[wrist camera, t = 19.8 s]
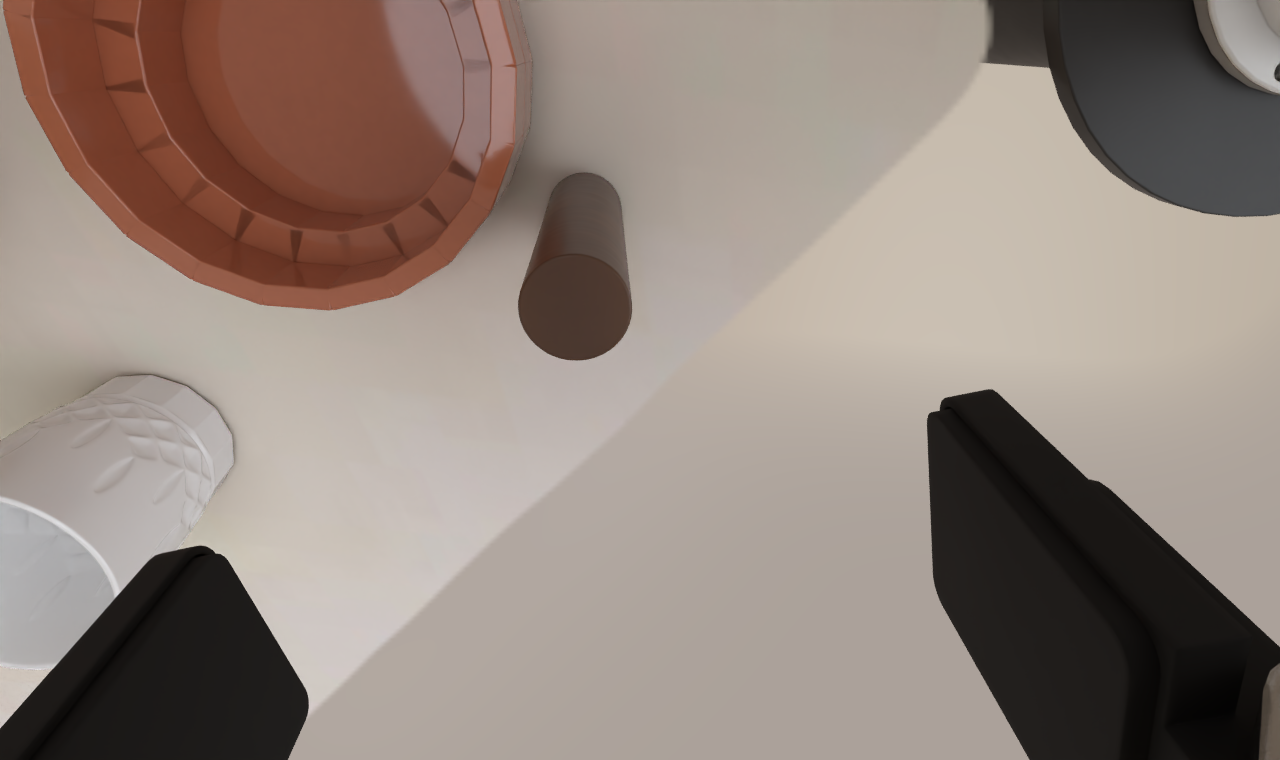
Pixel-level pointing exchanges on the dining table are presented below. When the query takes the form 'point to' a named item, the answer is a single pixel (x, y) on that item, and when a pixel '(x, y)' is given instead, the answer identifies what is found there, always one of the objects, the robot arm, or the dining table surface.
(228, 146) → the bowl
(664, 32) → the dining table surface
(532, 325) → the dark brown cylinder
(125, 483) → the white cup
